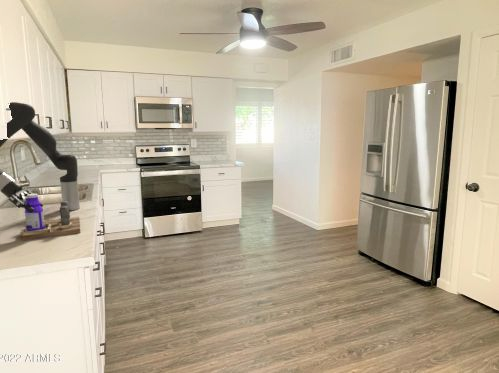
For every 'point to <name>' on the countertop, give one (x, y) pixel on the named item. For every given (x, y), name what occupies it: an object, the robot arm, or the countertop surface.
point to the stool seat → (55, 226)
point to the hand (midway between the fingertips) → (37, 209)
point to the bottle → (34, 214)
